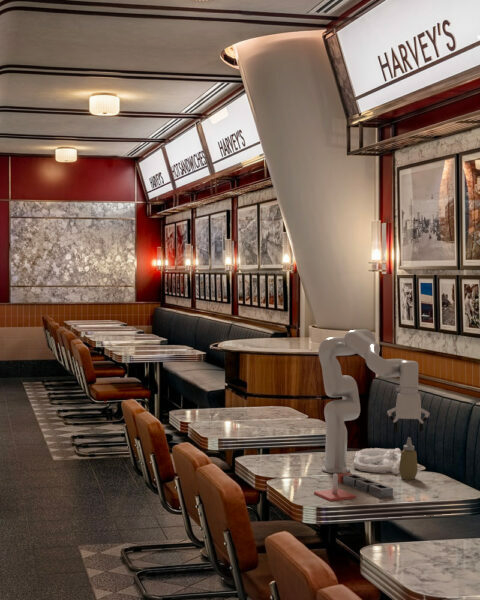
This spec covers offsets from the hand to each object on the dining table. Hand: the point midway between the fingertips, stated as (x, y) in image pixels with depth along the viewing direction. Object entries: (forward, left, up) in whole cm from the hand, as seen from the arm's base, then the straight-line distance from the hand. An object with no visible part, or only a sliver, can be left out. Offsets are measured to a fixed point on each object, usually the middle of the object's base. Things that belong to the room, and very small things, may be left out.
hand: (407, 432), depth 364 cm
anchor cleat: (-22, -16, -24) cm, 36 cm away
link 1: (-14, -16, -24) cm, 32 cm away
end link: (+4, -16, -24) cm, 29 cm away
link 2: (-5, -16, -24) cm, 29 cm away
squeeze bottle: (-15, +13, -24) cm, 31 cm away
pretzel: (-38, +15, -24) cm, 48 cm away
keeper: (-2, -34, -24) cm, 41 cm away
